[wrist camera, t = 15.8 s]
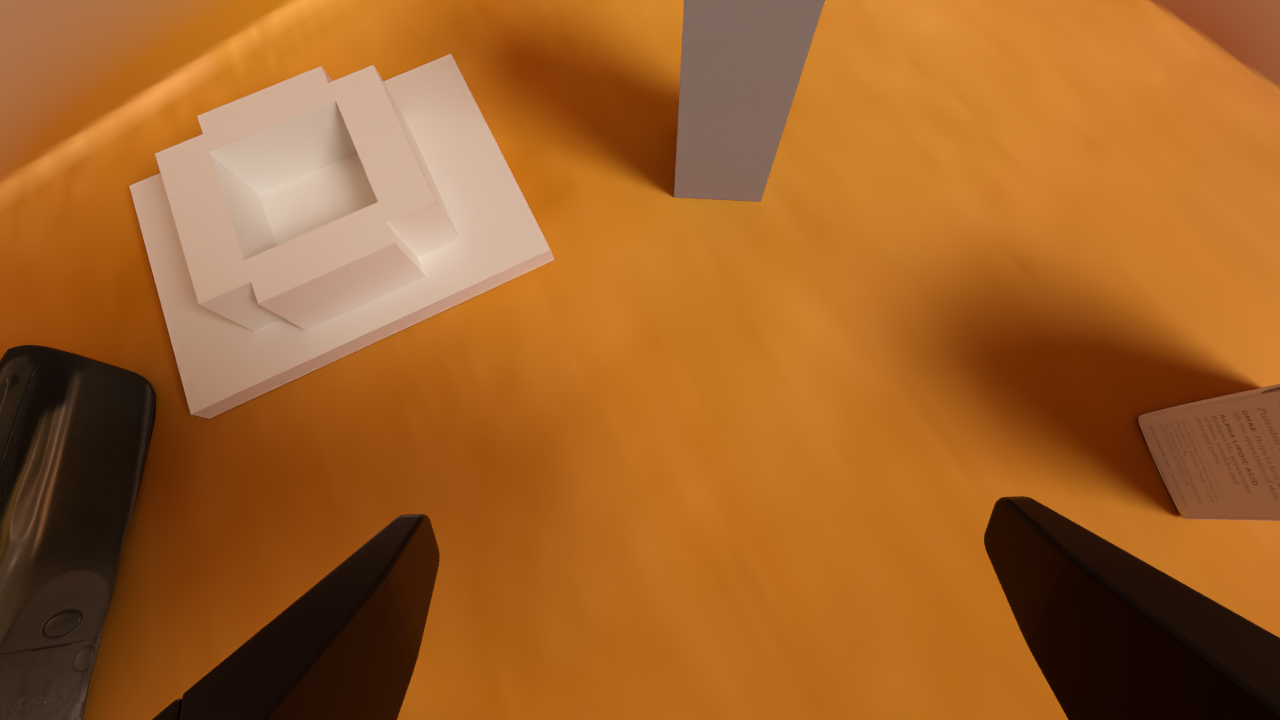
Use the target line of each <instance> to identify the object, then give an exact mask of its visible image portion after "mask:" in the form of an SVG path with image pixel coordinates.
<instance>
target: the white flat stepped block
mask: <svg viewBox="0 0 1280 720" xmlns="http://www.w3.org/2000/svg"><path fill="white" fill-rule="evenodd" d="M197 117H198V120H199V123H200V126H201V129H202V132H203V134H202V135H199V136H197V137H195V138H192V139H190V140H187V141H185V142H182V143H180V144H177V145H175V146H172V147H170V148H167V149H165V150H163V151H160V152H158V153H155V155H156V159H157V162H158V165H159V169H160V172H161V173H159V174H157V175H154V176H152V177H149V178H147V179H144V180H142V181H139V182H137V183H135V184H132V185H130V186H129V187H130V190H131V194H132V198H133V202H134V205H135V209H136V213H137V216H138V220H139V224H140V228H141V231H142V235H143V239H144V243H145V246H146V250H147V254H148V257H149V261H150V265H151V269H152V272H153V276H154V280H155V283H156V287H157V291H158V295H159V298H160V302H161V306H162V310H163V313H164V317H165V321H166V324H167V328H168V332H169V336H170V339H171V343H172V347H173V350H174V354H175V358H176V362H177V365H178V369H179V373H180V377H181V380H182V384H183V388H184V391H185V395H186V399H187V403H188V406H189V410H190V414H191V415H196V416H200V417H204V418H208V419H210V418H212V417H215V416H217V415H219V414H221V413H223V412H225V411H228V410H230V409H232V408H234V407H236V406H238V405H241V404H243V403H245V402H247V401H249V400H251V399H254V398H256V397H258V396H260V395H262V394H265V393H267V392H269V391H271V390H273V389H275V388H278V387H280V386H282V385H284V384H286V383H288V382H291V381H293V380H295V379H297V378H299V377H301V376H304V375H306V374H308V373H310V372H312V371H314V370H317V369H319V368H321V367H323V366H325V365H327V364H330V363H332V362H334V361H336V360H338V359H340V358H343V357H345V356H347V355H349V354H351V353H354V352H356V351H358V350H360V349H362V348H364V347H367V346H369V345H371V344H373V343H375V342H377V341H380V340H382V339H384V338H386V337H388V336H390V335H393V334H395V333H397V332H399V331H401V330H403V329H406V328H408V327H410V326H412V325H414V324H416V323H419V322H421V321H423V320H425V319H427V318H430V317H432V316H434V315H436V314H438V313H440V312H443V311H445V310H447V309H449V308H451V307H453V306H456V305H458V304H460V303H462V302H464V301H466V300H469V299H471V298H473V297H475V296H477V295H479V294H482V293H484V292H486V291H488V290H490V289H492V288H495V287H497V286H499V285H501V284H503V283H506V282H508V281H510V280H512V279H514V278H516V277H519V276H521V275H523V274H525V273H527V272H529V271H532V270H534V269H536V268H538V267H540V266H542V265H545V264H547V263H549V262H551V261H553V260H554V258H553V255H552V253H551V250H550V248H549V246H548V244H547V242H546V240H545V238H544V236H543V234H542V232H541V230H540V228H539V226H538V224H537V222H536V220H535V218H534V216H533V214H532V212H531V210H530V208H529V206H528V204H527V202H526V200H525V198H524V197H523V195H522V193H521V191H520V189H519V187H518V185H517V183H516V181H515V179H514V177H513V175H512V173H511V171H510V169H509V167H508V165H507V163H506V161H505V159H504V157H503V155H502V153H501V151H500V149H499V147H498V145H497V143H496V141H495V139H494V137H493V135H492V133H491V131H490V129H489V127H488V125H487V123H486V122H485V120H484V118H483V116H482V114H481V112H480V110H479V108H478V106H477V104H476V102H475V100H474V98H473V96H472V94H471V92H470V90H469V88H468V86H467V84H466V82H465V80H464V78H463V76H462V74H461V72H460V70H459V68H458V66H457V64H456V62H455V60H454V58H453V56H452V54H449V55H446V56H444V57H442V58H439V59H437V60H434V61H432V62H429V63H427V64H425V65H422V66H420V67H417V68H415V69H412V70H410V71H407V72H405V73H403V74H400V75H398V76H395V77H393V78H390V79H388V80H386V81H383V80H382V78H381V76H380V75H379V73H378V71H377V70H376V68H375V67H374V65H372V66H369V67H367V68H364V69H362V70H359V71H357V72H354V73H352V74H350V75H347V76H345V77H342V78H340V79H337V80H335V81H332V80H331V79H330V77H329V76H328V74H327V73H326V72H325V70H324V69H323V68H322V66H320V67H318V68H315V69H313V70H310V71H308V72H305V73H303V74H300V75H298V76H295V77H293V78H290V79H288V80H285V81H283V82H280V83H278V84H275V85H273V86H270V87H268V88H265V89H263V90H261V91H258V92H256V93H253V94H251V95H248V96H246V97H243V98H241V99H238V100H236V101H233V102H231V103H228V104H226V105H223V106H221V107H218V108H216V109H213V110H211V111H208V112H206V113H203V114H201V115H198V116H197Z"/></svg>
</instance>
